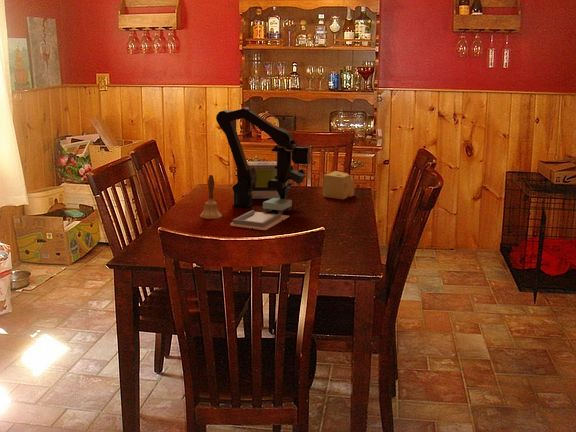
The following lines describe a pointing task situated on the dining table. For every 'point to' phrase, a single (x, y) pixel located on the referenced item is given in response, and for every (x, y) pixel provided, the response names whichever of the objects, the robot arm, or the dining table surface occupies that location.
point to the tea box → (264, 180)
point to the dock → (258, 220)
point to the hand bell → (210, 203)
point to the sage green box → (277, 205)
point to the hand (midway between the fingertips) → (283, 201)
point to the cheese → (338, 185)
